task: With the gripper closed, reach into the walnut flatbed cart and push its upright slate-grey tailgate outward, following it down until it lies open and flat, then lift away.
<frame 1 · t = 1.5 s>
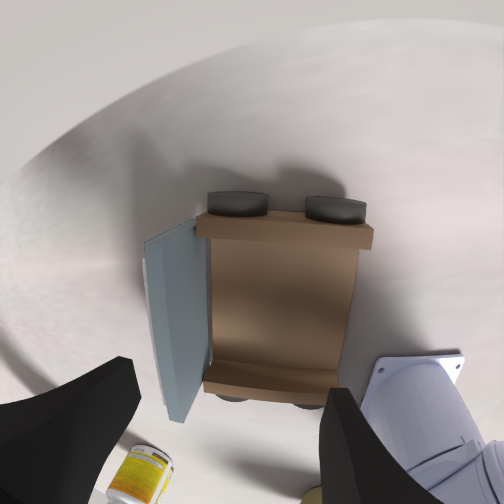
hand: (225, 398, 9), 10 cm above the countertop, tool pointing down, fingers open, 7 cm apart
supplement bottle: (154, 455, 27), on the countertop
tailgate: (181, 322, 15), point 4 cm above the countertop, hinge at 0.0°
squeeze bottle: (328, 491, 25), on the countertop
cart bed: (281, 298, 18), on the countertop
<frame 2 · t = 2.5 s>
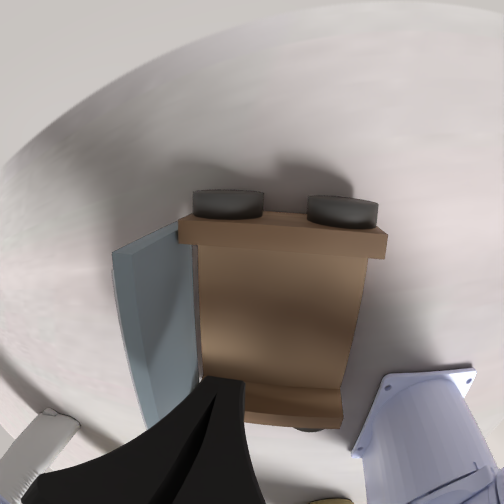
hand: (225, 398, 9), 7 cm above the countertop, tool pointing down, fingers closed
tall pale column: (59, 419, 25), on the countertop
tailgate: (163, 340, 13), point 4 cm above the countertop, hinge at 0.0°
cart bed: (278, 311, 16), on the countertop
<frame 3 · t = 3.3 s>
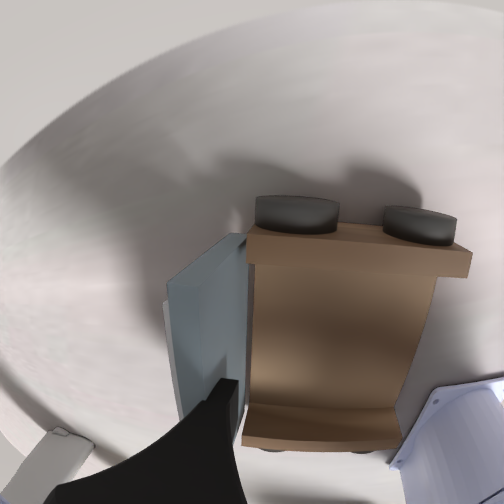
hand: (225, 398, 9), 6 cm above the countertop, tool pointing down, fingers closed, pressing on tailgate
tall pale column: (70, 438, 23), on the countertop
tailgate: (215, 375, 11), point 4 cm above the countertop, hinge at 3.3°, touching gripper
cart bed: (337, 331, 14), on the countertop
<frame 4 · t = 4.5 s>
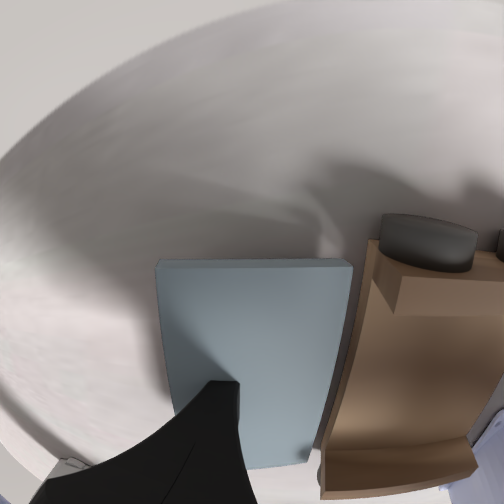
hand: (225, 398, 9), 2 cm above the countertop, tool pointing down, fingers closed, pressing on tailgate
tall pale column: (86, 468, 20), on the countertop
tailgate: (250, 390, 10), point 2 cm above the countertop, hinge at 73.9°, touching gripper
cart bed: (429, 366, 11), on the countertop
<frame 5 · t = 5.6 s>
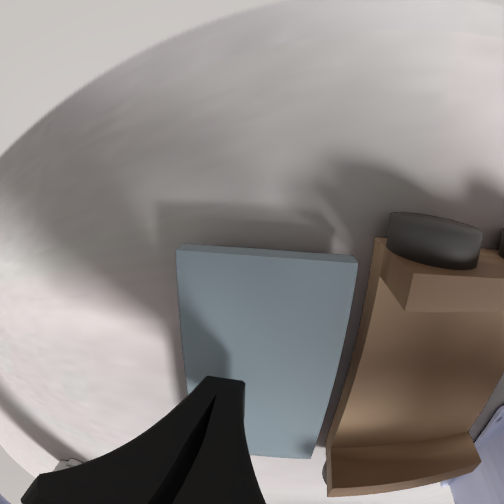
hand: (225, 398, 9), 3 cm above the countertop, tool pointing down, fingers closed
tailgate: (259, 375, 11), point 1 cm above the countertop, hinge at 89.6°
cart bed: (433, 363, 11), on the countertop
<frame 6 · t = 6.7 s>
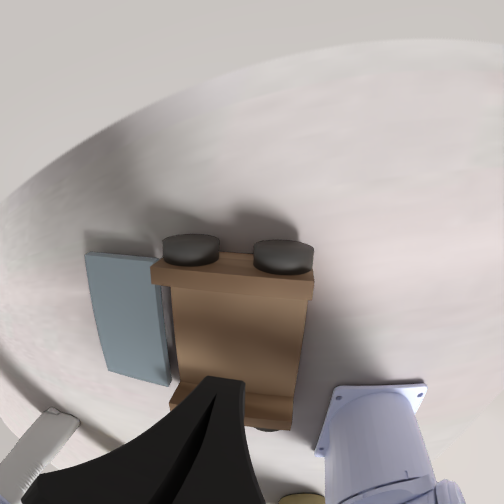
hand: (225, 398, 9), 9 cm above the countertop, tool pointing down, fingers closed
tall pale column: (61, 417, 28), on the countertop
tailgate: (129, 321, 19), point 1 cm above the countertop, hinge at 89.9°
squeeze bottle: (302, 499, 26), on the countertop
cart bed: (239, 331, 19), on the countertop
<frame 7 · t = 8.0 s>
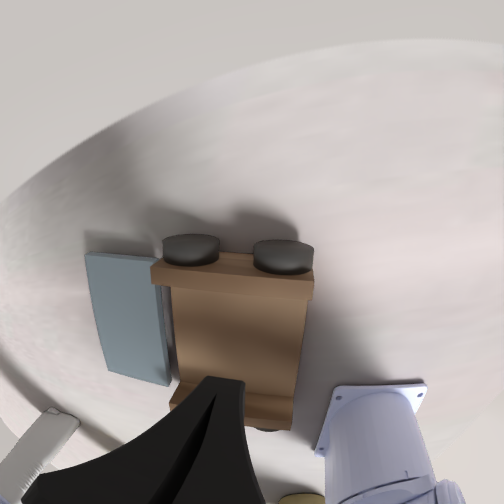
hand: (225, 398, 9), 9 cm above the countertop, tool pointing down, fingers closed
tall pale column: (61, 417, 28), on the countertop
tailgate: (129, 321, 19), point 1 cm above the countertop, hinge at 89.9°
squeeze bottle: (302, 499, 26), on the countertop
cart bed: (239, 331, 19), on the countertop
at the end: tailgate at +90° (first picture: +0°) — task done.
